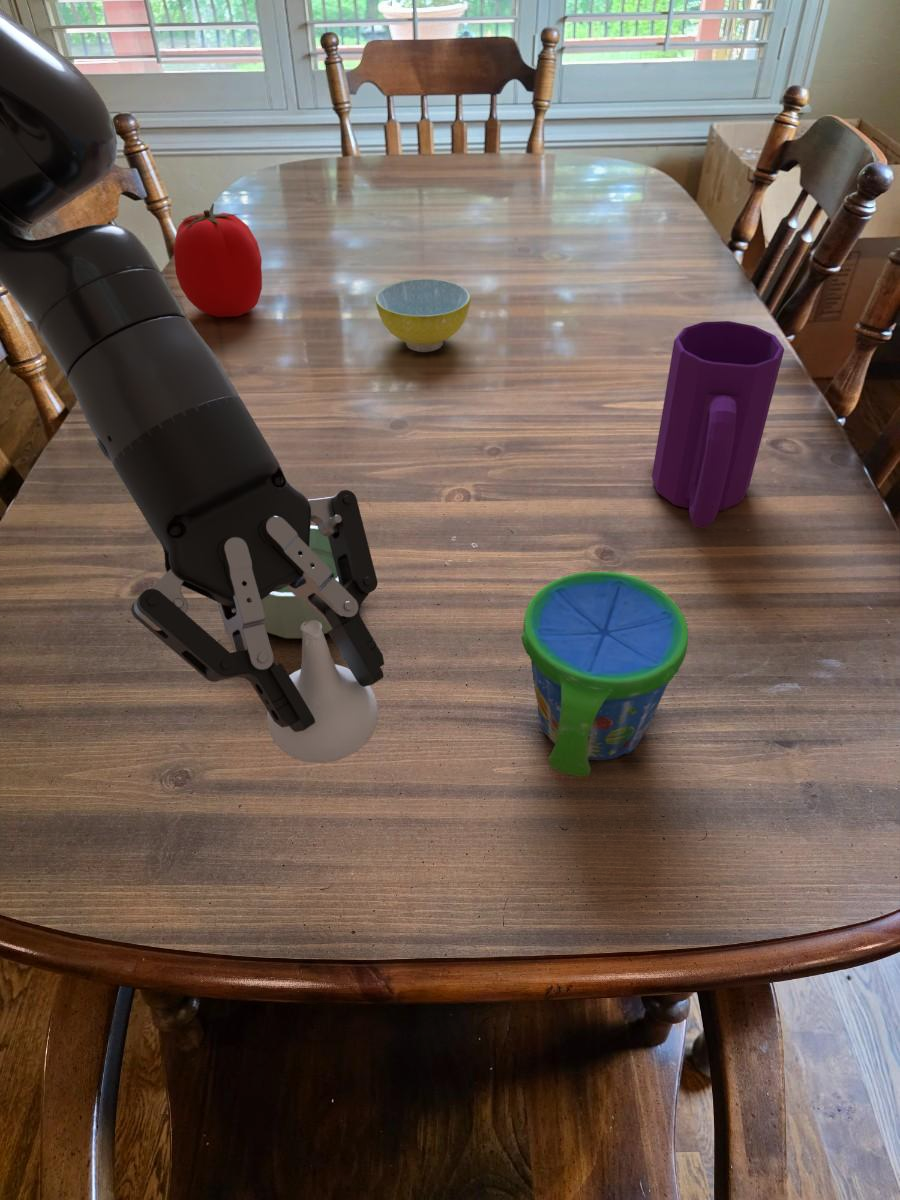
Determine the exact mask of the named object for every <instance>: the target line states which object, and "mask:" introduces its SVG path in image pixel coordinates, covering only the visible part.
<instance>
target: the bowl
mask: <svg viewBox="0 0 900 1200" xmlns="http://www.w3.org/2000/svg"><path fill="white" fill-rule="evenodd" d="M375 303H376V304H375V305H376V309H377V312H378V315H379V317H380V319H381V322H382V324H383V325H384V327H385V328H386V329H387V330H388V331H389V332H390V333H391V334H392V335H393V336H394V337H396V338H397V339H399V340H401V341H402V342H405V344H406V347H407V348H408V350H409V349H410V350H411V351H414V352H417V353H430V352H435V351H437V350H439V349H441V348H442V346H443V343H444V341H446V340H448V339H450V338H451V337H452V336H454V335H455V334H456V333H457V332H458V331H459V330H460V329H461V327H462V326H463V324H464V323H465V321H466V319H467V317H468V314H469V313H468V312H469V309H470V305H471V295H470V292H469V291H468V290H467V289H466V288H465V287H463V286H462V285H460V284H457V283H455V282H453V281H449V280H443V279H438V278H437V279H435V278H415V279H407V280H402V281H398V282H394V283H392V284H389V285H387V286H385V287H383V288H382V289H381V290H379V291H378V292H377V294H376V295H375Z"/></svg>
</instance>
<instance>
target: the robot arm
mask: <svg viewBox="0 0 900 1200" xmlns="http://www.w3.org/2000/svg"><path fill="white" fill-rule="evenodd" d="M114 123H115V122H114V120H113V117H112V114H111V112H110V110H109V108H108V106H107V104H106V103H105V101H104V99H103V97H102V96H101V94H100V93H99V91H98V90H97V89H96V88H95V86H94V85H93V84H92V83H91V81H90V80H89V79H88V78H87V77H86V76H85V74H83V72H82V71H81V70H79V69H78V67H77V66H75V65H74V64H73V62H71V61H70V60H69V59H68V58H66V57H65V56H64V55H63V54H62V53H61V52H59V51H58V50H57V49H56V48H55V47H54V46H52V45H50V43H48V42H47V41H45V40H43V38H41V37H40V36H39V35H37V34H35V33H34V32H33V31H31V30H30V29H29V28H27V27H26V26H25V25H23V24H22V23H20V22H19V21H17V20H16V19H15V18H14V17H12V16H10V15H9V14H8V13H6V11H4V10H3V9H1V8H0V284H1V285H2V286H3V288H5V290H6V291H7V293H9V294H10V295H11V297H12V298H13V299H14V300H15V301H16V302H17V304H18V305H19V306H20V308H21V309H22V310H23V311H24V313H25V314H26V316H27V317H28V318H29V320H30V321H31V322H32V324H33V325H34V327H35V328H36V331H37V332H38V334H39V336H40V337H41V338H42V340H43V342H44V344H45V345H46V347H47V348H48V350H49V352H50V353H51V355H52V357H53V358H54V360H55V361H56V363H57V365H58V367H59V368H60V370H61V372H62V373H63V375H64V376H65V378H66V380H67V381H68V384H69V385H70V387H71V389H72V391H73V393H74V395H75V397H76V401H77V402H78V405H79V407H80V410H81V412H82V414H83V416H84V418H85V421H86V423H87V425H88V426H89V428H90V430H91V431H92V433H93V435H94V437H95V438H96V441H97V445H98V447H99V449H100V451H101V452H102V454H103V455H104V456H105V458H107V460H108V461H110V463H111V464H112V466H113V468H114V469H115V471H116V472H117V474H118V476H119V477H120V479H121V481H122V483H123V484H124V486H125V487H126V489H127V491H128V492H129V494H130V496H131V497H132V499H133V501H134V502H135V504H136V506H137V507H138V509H139V511H140V512H141V515H143V517H144V519H145V521H146V523H147V524H148V526H149V528H150V529H151V530H152V532H153V534H154V535H155V537H156V539H157V540H158V541H159V543H160V545H161V547H162V549H163V553H164V554H163V555H164V567H165V571H166V573H165V574H164V575H163V576H162V577H161V578H160V579H159V580H158V581H157V582H156V583H155V584H154V585H153V586H152V587H151V588H147V589H146V590H144V591H143V592H141V594H139V596H138V597H137V598H136V599H135V601H133V603H132V605H131V609H130V610H131V614H132V616H133V617H134V618H135V619H136V620H137V621H138V622H139V623H140V624H142V625H143V626H144V627H145V628H146V629H148V631H149V632H151V633H152V634H153V635H154V636H156V637H157V638H158V639H159V641H161V642H162V643H164V644H165V645H166V646H167V647H168V648H169V649H171V650H172V651H173V652H174V653H175V654H176V655H178V656H179V657H180V658H181V659H182V660H183V661H185V662H186V663H187V664H188V665H190V667H192V668H193V669H194V670H195V671H197V672H198V673H199V674H200V675H201V676H202V677H203V678H205V680H207V681H209V682H211V683H218V682H220V681H225V680H229V679H233V678H234V679H235V678H243V679H245V680H247V681H248V682H249V683H250V684H251V686H252V688H253V689H254V690H255V692H256V694H257V696H258V697H259V699H260V700H261V702H262V704H263V706H264V707H265V709H266V710H267V713H268V712H269V714H270V715H271V717H272V719H273V720H274V722H275V723H277V724H278V725H279V726H281V727H282V728H283V727H288V726H290V728H291V729H292V730H293V731H294V732H299V731H304V730H305V729H307V728H308V727H310V726H311V725H313V724H314V723H315V719H314V717H313V715H312V713H311V711H310V710H309V708H308V706H307V705H306V703H305V701H304V700H303V698H302V696H301V695H300V693H299V691H298V690H297V688H296V686H295V685H294V683H293V681H292V680H291V678H290V676H289V675H290V674H289V673H288V671H287V670H286V668H285V666H284V664H283V663H282V662H279V663H275V661H274V659H275V658H274V653H273V649H272V646H271V642H270V639H269V636H268V632H266V628H265V613H264V609H263V606H262V602H261V600H262V599H264V598H265V597H267V596H268V595H269V594H270V593H271V592H273V591H278V590H281V589H283V588H285V587H287V588H288V589H289V590H290V591H291V592H292V593H293V594H294V595H295V596H296V597H297V598H299V599H300V600H303V601H305V602H306V603H307V604H309V605H310V606H311V607H312V608H313V609H314V610H315V611H316V612H317V613H318V614H319V615H320V616H321V617H322V618H323V619H324V620H325V621H326V622H327V623H328V624H330V625H331V627H332V630H330V631H328V633H327V634H328V635H329V637H330V638H331V640H332V642H333V644H334V645H335V646H336V647H335V648H337V651H338V652H339V653H340V655H341V657H342V660H344V662H345V663H346V666H347V668H348V669H350V670H351V672H352V674H353V675H354V677H355V679H356V680H357V682H358V683H359V684H360V685H361V686H362V687H365V686H373V685H375V684H376V683H377V682H379V681H381V680H382V679H383V678H384V672H383V670H382V668H381V667H382V666H384V665H385V660H384V654H383V653H382V651H381V649H380V648H379V646H378V644H377V643H376V641H375V640H374V638H373V636H372V634H371V633H370V631H369V628H368V627H367V625H366V624H365V622H364V621H363V619H362V617H361V613H360V609H361V606H362V604H363V602H364V601H365V600H366V599H367V597H368V596H369V595H370V593H372V592H374V591H375V590H376V589H377V587H378V579H377V573H376V571H375V570H376V569H375V565H374V562H373V559H372V554H371V550H370V547H369V542H368V538H367V535H366V530H365V527H364V523H363V518H362V515H361V510H360V507H359V502H358V499H357V497H356V495H355V493H354V492H353V491H351V490H349V489H342V490H341V491H339V492H338V493H336V494H334V496H329V497H322V498H321V497H320V498H312V499H308V498H307V497H306V495H304V494H303V493H301V492H300V491H298V490H297V489H295V487H293V486H292V485H291V484H290V483H289V482H288V480H287V479H286V477H285V474H284V472H283V469H282V467H281V464H280V463H279V461H278V459H277V457H276V456H275V454H274V452H273V450H272V449H271V447H270V445H269V444H268V442H267V440H266V438H265V437H264V436H263V433H262V432H261V430H260V429H259V427H258V425H257V423H256V422H255V420H254V418H253V417H252V415H251V413H250V411H249V410H248V408H247V406H246V405H245V403H244V401H243V400H242V398H241V396H240V395H239V393H238V391H237V390H236V388H235V386H234V384H233V383H232V381H231V379H230V378H229V376H228V374H227V372H226V371H225V369H224V367H223V365H222V364H221V362H220V360H219V359H218V357H217V356H216V354H215V353H214V351H213V350H212V348H210V346H209V345H208V344H207V342H206V341H205V340H204V338H202V336H201V335H200V333H198V331H197V329H196V328H195V326H194V325H193V323H192V322H191V320H190V319H189V317H188V315H187V313H186V312H185V310H184V308H183V306H182V305H181V303H180V301H179V300H178V298H177V297H176V295H175V292H174V291H173V289H172V288H171V286H170V284H169V282H168V280H167V279H166V278H165V276H164V274H163V272H162V271H161V269H160V268H159V265H158V264H157V262H156V260H155V259H154V258H153V255H152V254H151V252H150V251H149V249H148V248H147V246H146V245H145V244H144V243H143V241H142V240H141V239H140V238H139V236H137V235H136V234H135V233H133V231H131V230H130V229H128V228H126V227H124V226H121V225H118V224H113V223H99V224H98V223H97V224H90V225H85V226H81V227H78V228H73V229H71V230H67V231H63V232H61V233H57V234H53V235H51V236H47V237H43V238H38V239H35V238H34V236H33V233H32V231H31V229H32V228H34V226H36V225H37V224H38V223H40V222H42V221H44V220H45V219H46V218H48V217H49V216H51V215H53V214H54V213H56V212H57V211H59V210H60V209H61V208H63V207H65V206H67V205H68V204H69V203H71V202H72V201H74V200H75V199H77V198H79V197H80V196H81V195H83V194H84V193H86V192H88V191H89V190H91V189H93V188H94V187H95V186H97V185H98V184H100V183H101V182H103V180H104V179H105V178H106V177H107V176H108V175H109V174H110V173H111V171H112V170H113V168H114V166H115V163H116V160H117V156H118V137H117V130H116V127H115V124H114ZM312 522H313V523H314V525H316V526H317V527H318V529H319V531H320V533H321V534H323V535H324V536H328V539H329V543H330V547H331V551H332V555H333V559H334V563H335V567H336V571H337V575H338V579H339V582H338V581H337V580H336V579H335V578H334V575H333V572H332V570H331V569H330V568H329V567H328V566H327V565H326V564H325V563H324V562H323V561H322V560H321V559H320V558H319V557H318V556H317V555H316V554H315V553H314V552H313V551H312V550H311V549H310V548H309V541H310V525H311V524H312ZM182 587H184V588H187V589H188V590H191V591H193V592H195V593H197V594H199V595H201V596H203V597H205V598H208V599H210V600H212V601H215V602H217V605H218V609H219V613H220V617H221V619H222V623H223V627H224V630H225V633H226V634H227V636H228V637H229V639H230V641H231V645H232V646H231V647H232V648H233V651H232V652H230V651H229V650H228V649H227V648H225V647H224V646H223V645H222V643H220V642H219V641H217V639H215V638H214V636H212V635H211V634H209V632H207V631H206V630H205V629H204V628H203V627H201V626H200V625H199V624H198V623H197V622H195V620H193V619H192V618H191V617H190V616H189V615H188V614H187V612H188V610H189V602H188V600H187V599H186V597H185V596H184V595H183V592H182Z"/></svg>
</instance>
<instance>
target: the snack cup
mask: <svg viewBox="0 0 900 1200" xmlns="http://www.w3.org/2000/svg"><path fill="white" fill-rule="evenodd" d="M521 641H522V642H521V643H522V646H523V649H524V651H525V653H526V654H527V655H528V657H529V659H530V660H531V661H530V664H531V672H532V678H533V685H534V686H533V687H534V692H535V698H536V703H537V713H538V717H539V719H540V724H541V729H542V732H543V734H544V735H546V736H547V737H548V738H549V740H550V741H551V742H552V743H553V744H554V746H553V749H552V751H551V752H550V754H549V757H548V761H549V765H550V767H551V768H553V769H554V770H556V771H558V772H560V773H562V774H566V775H567V774H568V775H572V776H576V777H587V776H588V775H589V774H591V770H592V769H591V765H590V762H589V761H605V760H613V759H614V760H615V759H617V758H618V757H620V756H623V755H628V754H630V753H631V752H632V751H634V750H635V749H636V748H637V746H638V745H639V743H640V741H641V740H642V738H644V735H645V732H646V731H647V729H648V727H649V725H650V724H651V721H652V719H653V717H654V715H655V714H656V713H655V712H656V710H657V708H658V707H659V704H660V702H661V700H662V698H663V696H664V694H665V691H666V689H667V687H668V685H669V682H671V680H672V679H673V678H674V677H675V675H676V674H677V673H678V672H679V669H680V668H681V666H682V664H683V663H684V660H685V657H686V654H687V650H688V645H689V644H688V643H689V629H688V623H687V619H686V617H685V615H684V614H683V612H682V611H681V609H680V607H679V606H678V605H677V604H676V602H674V601H673V599H671V597H670V596H669V595H668V594H666V593H665V592H663V591H662V590H661V589H659V588H658V587H656V586H655V585H652V584H651V583H649V582H646V581H644V580H642V578H641V577H637V576H634V575H630V574H626V573H622V572H616V571H585V572H578V573H573V574H569V575H566V576H563V577H561V578H557V579H555V580H553V581H551V582H549V583H548V584H546V585H545V586H544V587H542V588H541V589H540V590H538V591H537V593H536V594H535V595H534V596H533V597H532V598H531V600H530V601H529V603H528V605H527V607H526V609H525V613H524V618H523V627H522V634H521Z"/></svg>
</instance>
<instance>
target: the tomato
mask: <svg viewBox="0 0 900 1200" xmlns="http://www.w3.org/2000/svg"><path fill="white" fill-rule="evenodd" d="M214 207H215V203H212V204H211V205H210V208H209V209H205V210H203V213H198V214H191V215H190V216H188V217H185V218H182V219H181V223H180V224H179V225H178V227H177V231H176V235H175V238H174V240H175V241H174V245H173V257H174V268H175V276H176V278H177V281H178V284H179V287H180V289H181V291H182V292H183V294H184V296H185V297H186V299H187V300H188V302H190V303H191V304H192V305H193V306H194V307H196V309H197V310H199V311H201V312H203V313H206V314H207V315H210V316H213V317H216V318H231V317H240V316H242V315H245V314H247V313H249V312H251V311H252V310H253V309H254V308H255V307H256V306H257V304H258V303H259V300H260V296H261V292H262V289H263V271H262V260H263V259H262V256H261V251H260V247H259V243H258V241H257V239H256V238H255V236H254V234H253V233H252V231H251V229H250V227H249V226H248V225H247V224H246V222H244V221H243V220H241V219H240V218H239V217H238V216H237V215H239V213H235V214H234V213H228V212H221V213H216V214H215V213H214Z"/></svg>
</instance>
